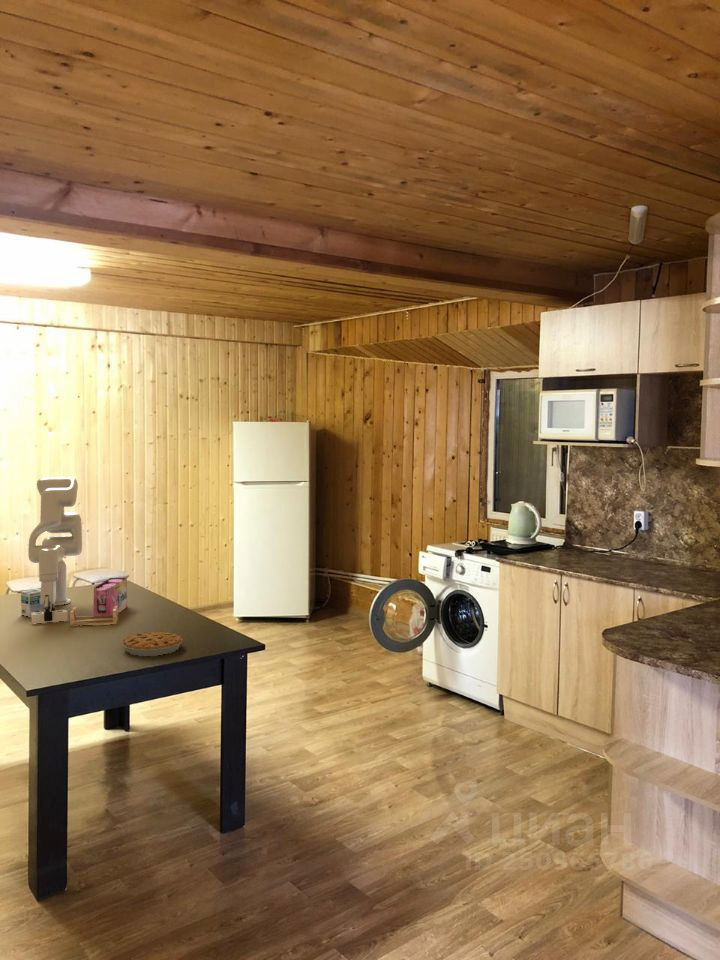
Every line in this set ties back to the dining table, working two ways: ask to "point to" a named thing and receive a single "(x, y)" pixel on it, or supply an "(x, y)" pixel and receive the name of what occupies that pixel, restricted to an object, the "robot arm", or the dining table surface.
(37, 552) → the robot arm
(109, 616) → the cradle
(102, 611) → the gum box
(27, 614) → the light bulb box
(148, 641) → the pie
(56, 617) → the power strip
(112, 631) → the dining table surface
